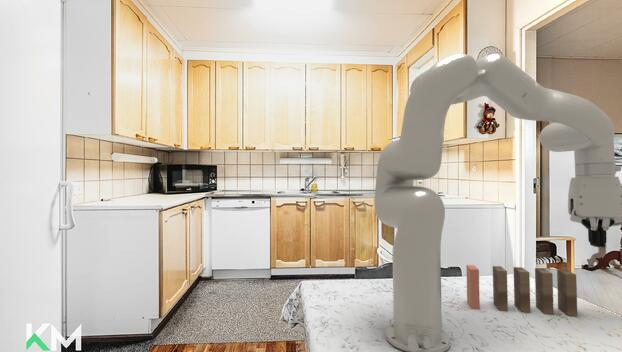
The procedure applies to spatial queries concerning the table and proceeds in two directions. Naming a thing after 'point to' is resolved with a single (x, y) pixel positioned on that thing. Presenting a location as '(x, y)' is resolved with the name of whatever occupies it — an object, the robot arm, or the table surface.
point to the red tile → (473, 286)
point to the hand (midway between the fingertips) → (597, 246)
